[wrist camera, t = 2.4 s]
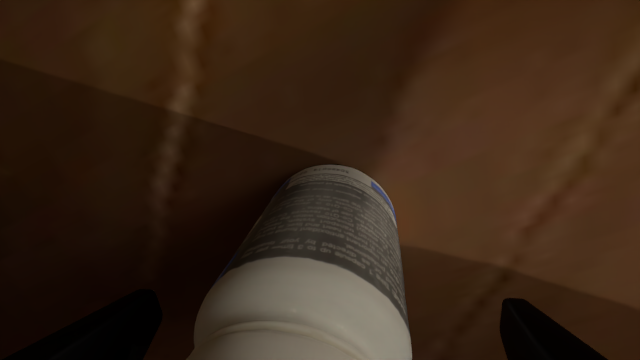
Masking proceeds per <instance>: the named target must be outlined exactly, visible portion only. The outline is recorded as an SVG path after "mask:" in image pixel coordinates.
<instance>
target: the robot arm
mask: <svg viewBox="0 0 640 360" xmlns="http://www.w3.org/2000/svg"><path fill="white" fill-rule="evenodd" d="M162 316H163V315H162V310H161V307H160V304H159V301H158V298H157V295H156V293H155V291H154V290H151V289H139V290H136V291H134V292H132V293H130V294H128V295H126V296H124V297H123V298H121V299H119V300H117V301H115V302H113V303H111V304H109V305H107V306H105V307H103V308H101V309H99V310H97V311H95V312H93V313H91V314H90V315H88V316H86V317H84V318H82V319H80V320H78V321H76V322H74V323H72V324H70V325H68V326H66V327H64V328H62V329H60V330H58V331H57V332H55V333H53V334H51V335H49V336H47V337H45V338H43V339H41V340H39V341H37V342H35V343H33V344H31V345H29V346H27V347H25V348H24V349H22V350H20V351H18V352H16V353H14V354H12V355H10V356H8V357H6V358H4V359H2V360H143V358H144V356H145V354H146V352H147V350H148V348H149V346H150V344H151V342H152V340H153V338H154V336H155V334H156V332H157V330H158V327H159V325H160V323H161V321H162ZM500 334H501V338H502V342H503V345H504V349H505V352H506V355H507V359H508V360H608V359H606V358H605V357H604V356H602V355H601V354H600V353H598V352H597V351H595V350H594V349H593V348H591V347H590V346H589V345H587V344H586V343H584V342H583V341H582V340H580V339H579V338H577V337H576V336H575V335H573V334H572V333H571V332H569V331H568V330H566V329H565V328H564V327H562V326H561V325H559V324H558V323H557V322H555V321H554V320H553V319H551V318H550V317H548V316H547V315H546V314H544V313H543V312H542V311H540V310H539V309H537V308H536V307H535V306H533V305H532V304H530V303H529V302H528V301H526V300H524V299H519V298H506V299H504V300H503V303H502V311H501V320H500Z"/></svg>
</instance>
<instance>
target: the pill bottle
mask: <svg viewBox="0 0 640 360" xmlns="http://www.w3.org/2000/svg"><path fill="white" fill-rule="evenodd" d="M186 360H412V348H411V338H410V329H409V323H408V317H407V306H406V300H405V290H404V277H403V271H402V261H401V251H400V246H399V238H398V231H397V223H396V216H395V212H394V209H393V206H392V203H391V201H390V199H389V197H388V196H387V194H386V193H385V191H384V190H383V189H382V188H381V186H380V185H379V184H378V183H376V182H375V181H374V180H373V179H371V178H370V177H369V176H367V175H366V174H364V173H362V172H360V171H358V170H356V169H353V168H350V167H346V166H341V165H331V164H330V165H319V166H313V167H309V168H306V169H304V170H302V171H300V172H298V173H296V174H295V175H293V176H292V177H290V178H289V179H288V180H287V181H286V182H285V183H284V184H283V185H282V186H281V187H280V188H279V190H278V191H277V192H276V194H275V195H274V197H273V198H272V199H271V201H270V203H269V204H268V205H267V207H266V208H265V210H264V212H263V213H262V214H261V216H260V217H259V219H258V220H257V222H256V223H255V224H254V226H253V228H252V229H251V231H250V232H249V234H248V235H247V237H246V238H245V239H244V241H243V242H242V244H241V246H240V247H239V248H238V250H237V251H236V253H235V254H234V256H233V257H232V259H231V260H230V262H229V263H228V265H227V266H226V267H225V269H224V270H223V272H222V273H221V274H220V276H219V277H218V279H217V280H216V281H215V283H214V284H213V286H212V287H211V289H210V290H209V292H208V293H207V295H206V297H205V299H204V301H203V303H202V305H201V307H200V310H199V312H198V315H197V318H196V322H195V329H194V350H193V351H192V353H191V354H190V356H189V357H188V358H187V359H186Z"/></svg>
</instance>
